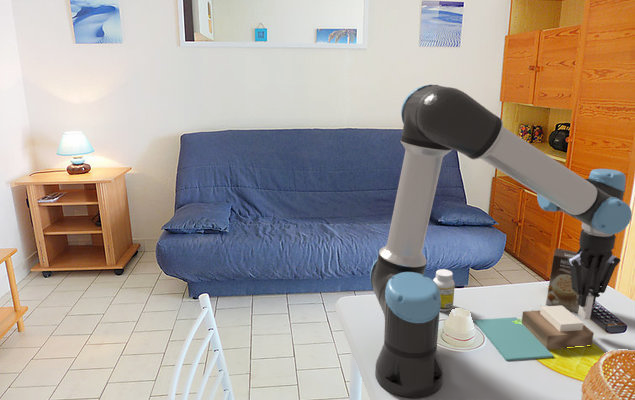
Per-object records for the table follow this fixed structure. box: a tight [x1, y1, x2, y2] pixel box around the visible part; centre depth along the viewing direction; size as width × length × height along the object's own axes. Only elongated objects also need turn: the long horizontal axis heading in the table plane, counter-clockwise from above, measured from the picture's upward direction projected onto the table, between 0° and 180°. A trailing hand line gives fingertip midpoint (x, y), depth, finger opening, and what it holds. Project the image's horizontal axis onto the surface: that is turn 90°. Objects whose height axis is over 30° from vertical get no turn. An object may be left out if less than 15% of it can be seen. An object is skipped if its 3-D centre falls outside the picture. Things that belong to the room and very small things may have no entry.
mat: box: [474, 317, 554, 362], centre depth 123 cm, size 12×18×1 cm, turn 6°
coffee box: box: [545, 248, 582, 314], centre depth 137 cm, size 9×6×16 cm
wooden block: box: [521, 309, 595, 351], centre depth 124 cm, size 12×12×4 cm
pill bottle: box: [432, 268, 456, 312], centre depth 137 cm, size 6×6×11 cm
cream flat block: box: [540, 305, 584, 332], centre depth 123 cm, size 6×9×2 cm, turn 6°
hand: (583, 316), depth 124 cm, fingers closed
